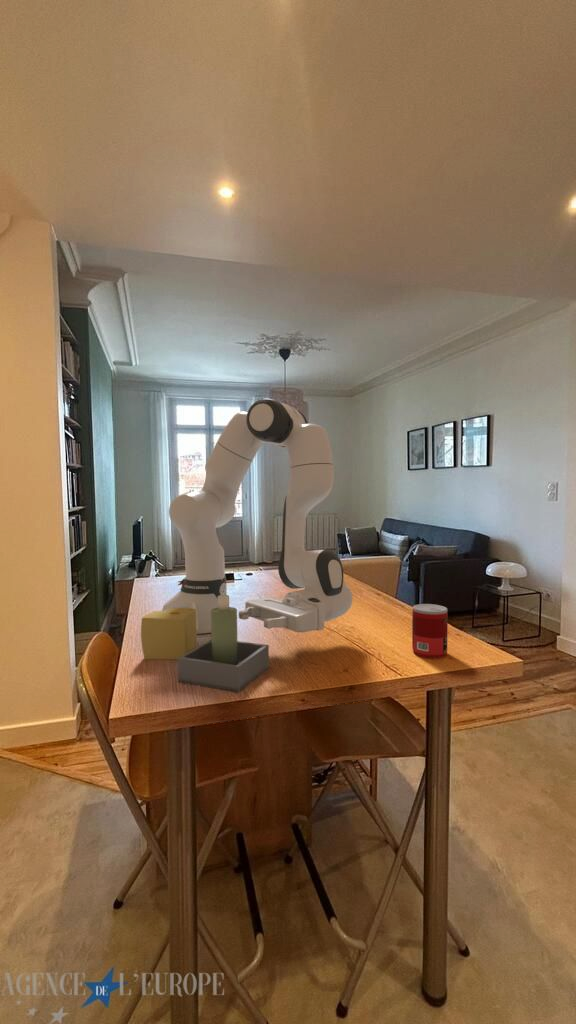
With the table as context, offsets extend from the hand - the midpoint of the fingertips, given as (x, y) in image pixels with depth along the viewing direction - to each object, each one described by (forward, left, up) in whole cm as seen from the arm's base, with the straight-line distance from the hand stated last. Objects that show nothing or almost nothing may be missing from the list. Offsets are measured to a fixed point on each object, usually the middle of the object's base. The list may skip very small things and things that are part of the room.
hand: (252, 619), depth 105 cm
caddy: (-3, -7, -10) cm, 13 cm away
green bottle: (-3, -7, -9) cm, 12 cm away
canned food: (+36, +22, -11) cm, 43 cm away
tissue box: (-22, 0, -11) cm, 25 cm away
